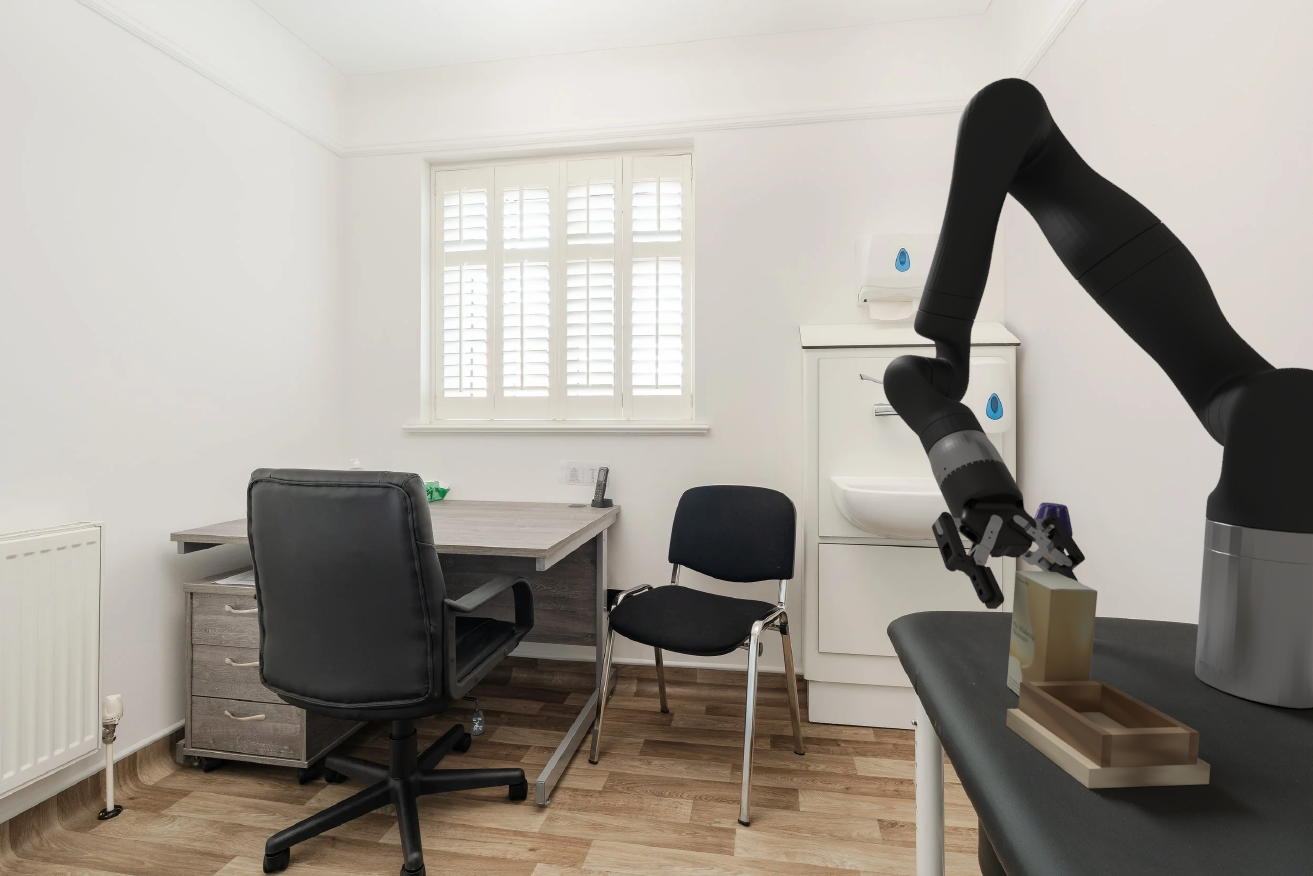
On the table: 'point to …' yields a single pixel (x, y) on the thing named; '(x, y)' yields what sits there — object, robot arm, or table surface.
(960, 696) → the table surface
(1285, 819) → the table surface
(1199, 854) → the table surface
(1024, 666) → the skincare box
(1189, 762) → the wooden tray
